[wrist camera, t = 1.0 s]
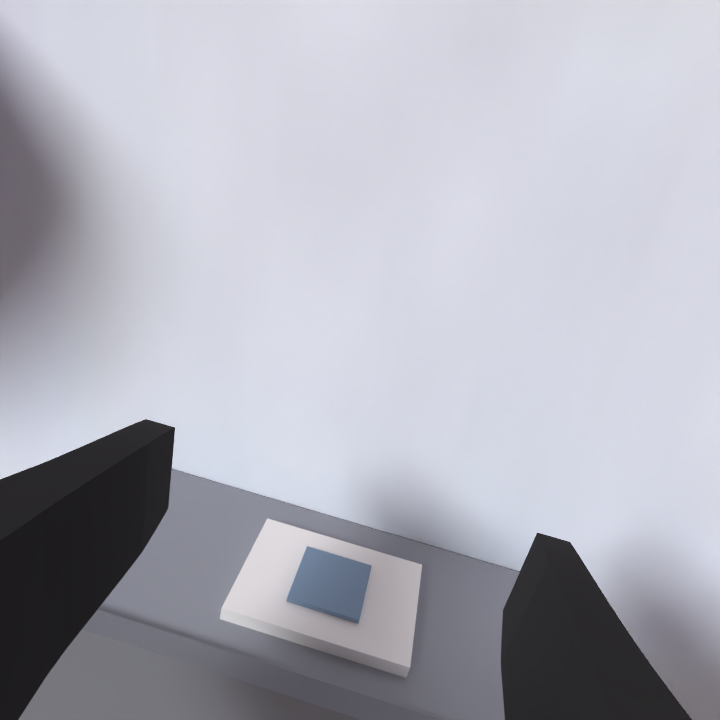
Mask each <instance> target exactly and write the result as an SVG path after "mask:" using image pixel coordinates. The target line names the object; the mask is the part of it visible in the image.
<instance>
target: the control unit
mask: <svg viewBox="0 0 720 720" xmlns="http://www.w3.org/2000/svg"><path fill="white" fill-rule="evenodd" d="M519 573H520V572H518V571H515V570H511V569H508V568H504V567H501V566H498V565H494V564H491V563H488V562H484V561H481V560H477V559H474V558H471V557H467V556H464V555H460V554H457V553H454V552H450V551H447V550H444V549H440V548H437V547H433V546H430V545H427V544H423V543H420V542H417V541H413V540H410V539H406V538H403V537H400V536H396V535H393V534H390V533H386V532H383V531H379V530H376V529H373V528H369V527H366V526H363V525H359V524H356V523H352V522H349V521H346V520H342V519H339V518H336V517H332V516H329V515H325V514H322V513H319V512H315V511H312V510H309V509H305V508H302V507H298V506H295V505H292V504H288V503H285V502H281V501H278V500H275V499H271V498H268V497H265V496H261V495H258V494H254V493H251V492H248V491H244V490H241V489H238V488H234V487H231V486H227V485H224V484H221V483H217V482H214V481H211V480H207V479H204V478H200V477H197V476H194V475H190V474H187V473H184V472H180V471H177V470H173V469H171V481H170V493H169V506H168V510H167V512H166V513H165V515H164V517H163V519H162V520H161V522H160V524H159V525H158V527H157V529H156V531H155V532H154V534H153V536H152V537H151V539H150V540H149V542H148V544H147V545H146V547H145V549H144V550H143V552H142V553H141V555H140V556H139V557H138V558H137V560H136V561H135V562H134V564H133V565H132V566H131V568H130V569H129V570H128V571H127V573H126V574H125V575H124V577H123V578H122V579H121V580H120V582H119V583H118V584H117V586H116V587H115V588H114V589H113V591H112V592H111V593H110V594H109V596H108V597H107V598H106V600H105V601H104V602H103V603H102V605H101V606H100V607H99V608H98V610H97V611H96V612H95V613H94V615H93V616H92V617H91V619H90V620H89V621H88V622H87V624H86V625H85V626H84V627H83V629H82V630H81V631H80V632H79V634H78V635H77V636H76V638H75V639H74V640H73V641H72V643H71V644H70V645H69V646H68V648H67V649H66V650H65V652H64V653H63V654H62V656H61V657H60V658H59V660H58V661H57V663H56V664H55V665H54V667H53V668H52V669H51V671H50V672H49V674H48V675H47V676H46V678H45V680H44V681H43V683H42V684H41V686H40V687H39V689H38V690H37V692H36V693H35V695H34V696H33V698H32V700H31V701H30V703H29V704H28V706H27V707H26V709H25V710H24V712H23V713H22V715H21V716H20V718H19V720H505V714H504V701H503V688H502V675H501V638H502V619H503V609H504V606H505V604H506V602H507V600H508V597H509V595H510V593H511V591H512V589H513V586H514V584H515V582H516V580H517V577H518V575H519Z"/></svg>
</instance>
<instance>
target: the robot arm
mask: <svg viewBox="0 0 720 720" xmlns="http://www.w3.org/2000/svg"><path fill="white" fill-rule="evenodd" d="M174 432H175V428H174V427H171V426H167V425H164V424H161V423H157V422H154V421H150V420H147V419H146V420H143V421H140V422H138V423H135V424H133V425H130V426H128V427H126V428H123V429H121V430H119V431H117V432H114V433H112V434H110V435H107V436H105V437H103V438H101V439H98V440H96V441H94V442H92V443H89V444H87V445H85V446H82V447H80V448H78V449H75V450H73V451H71V452H68V453H66V454H64V455H61V456H59V457H57V458H54V459H52V460H50V461H47V462H45V463H42V464H40V465H37V466H34V467H32V468H29V469H27V470H24V471H21V472H19V473H16V474H13V475H11V476H8V477H6V478H3V479H0V720H19V718H20V716H21V715H22V713H23V712H24V710H25V709H26V707H27V706H28V704H29V703H30V701H31V700H32V698H33V696H34V695H35V693H36V692H37V690H38V689H39V687H40V686H41V684H42V683H43V681H44V680H45V678H46V676H47V675H48V674H49V672H50V671H51V669H52V668H53V667H54V665H55V664H56V663H57V661H58V660H59V658H60V657H61V656H62V654H63V653H64V652H65V650H66V649H67V648H68V646H69V645H70V644H71V643H72V641H73V640H74V639H75V638H76V636H77V635H78V634H79V632H80V631H81V630H82V629H83V627H84V626H85V625H86V624H87V622H88V621H89V620H90V619H91V617H92V616H93V615H94V613H95V612H96V611H97V610H98V608H99V607H100V606H101V605H102V603H103V602H104V601H105V600H106V598H107V597H108V596H109V594H110V593H111V592H112V591H113V589H114V588H115V587H116V586H117V584H118V583H119V582H120V580H121V579H122V578H123V577H124V575H125V574H126V573H127V571H128V570H129V569H130V568H131V566H132V565H133V564H134V562H135V561H136V560H137V558H138V557H139V556H140V555H141V553H142V552H143V550H144V549H145V547H146V545H147V544H148V542H149V540H150V539H151V537H152V536H153V534H154V532H155V531H156V529H157V527H158V525H159V524H160V522H161V520H162V519H163V517H164V515H165V513H166V512H167V510H168V506H169V493H170V481H171V469H172V457H173V445H174ZM501 675H502V688H503V701H504V714H505V720H692V719H691V718H690V717H689V715H688V714H687V713H686V711H685V710H684V709H683V708H682V706H681V705H680V704H679V702H678V701H677V700H676V698H675V697H674V696H673V694H672V693H671V692H670V690H669V689H668V688H667V686H666V685H665V684H664V682H663V681H662V680H661V678H660V677H659V676H658V674H657V673H656V671H655V670H654V669H653V667H652V666H651V665H650V663H649V662H648V660H647V659H646V658H645V656H644V655H643V653H642V652H641V650H640V649H639V648H638V646H637V645H636V643H635V642H634V640H633V639H632V637H631V636H630V634H629V633H628V631H627V630H626V628H625V627H624V625H623V624H622V622H621V621H620V619H619V618H618V616H617V615H616V613H615V612H614V610H613V609H612V607H611V606H610V604H609V603H608V601H607V599H606V598H605V596H604V595H603V593H602V592H601V590H600V588H599V587H598V585H597V584H596V582H595V580H594V579H593V577H592V576H591V574H590V572H589V571H588V569H587V568H586V566H585V565H584V563H583V561H582V560H581V558H580V557H579V555H578V554H577V552H576V550H575V549H574V547H573V546H572V544H571V543H570V542H568V541H564V540H561V539H557V538H554V537H550V536H547V535H544V534H540V533H537V535H536V537H535V539H534V541H533V544H532V546H531V548H530V550H529V553H528V555H527V557H526V559H525V562H524V564H523V566H522V568H521V571H520V573H519V575H518V577H517V580H516V582H515V584H514V586H513V589H512V591H511V593H510V595H509V597H508V600H507V602H506V604H505V606H504V609H503V619H502V638H501Z"/></svg>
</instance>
